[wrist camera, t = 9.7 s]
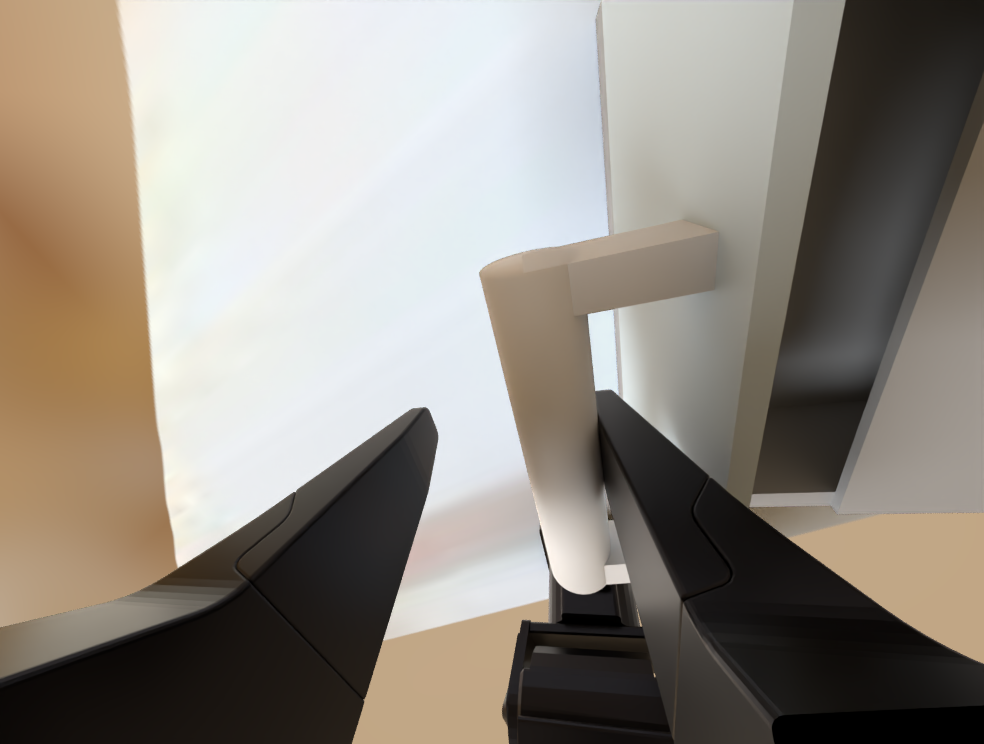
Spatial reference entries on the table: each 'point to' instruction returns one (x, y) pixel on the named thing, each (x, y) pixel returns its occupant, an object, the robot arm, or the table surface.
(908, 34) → the cabinet
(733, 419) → the rear flap
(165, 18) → the table surface
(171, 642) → the robot arm
